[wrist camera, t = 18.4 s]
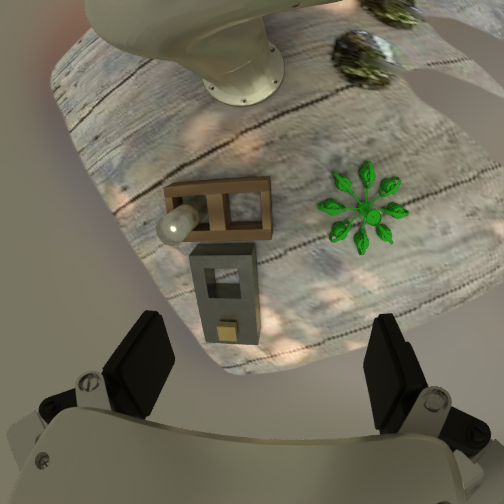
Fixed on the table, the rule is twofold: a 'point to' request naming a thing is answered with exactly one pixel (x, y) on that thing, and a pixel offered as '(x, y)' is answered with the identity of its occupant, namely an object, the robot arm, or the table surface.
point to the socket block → (227, 290)
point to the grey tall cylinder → (182, 220)
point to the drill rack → (224, 208)
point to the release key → (227, 331)
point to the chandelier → (364, 208)
